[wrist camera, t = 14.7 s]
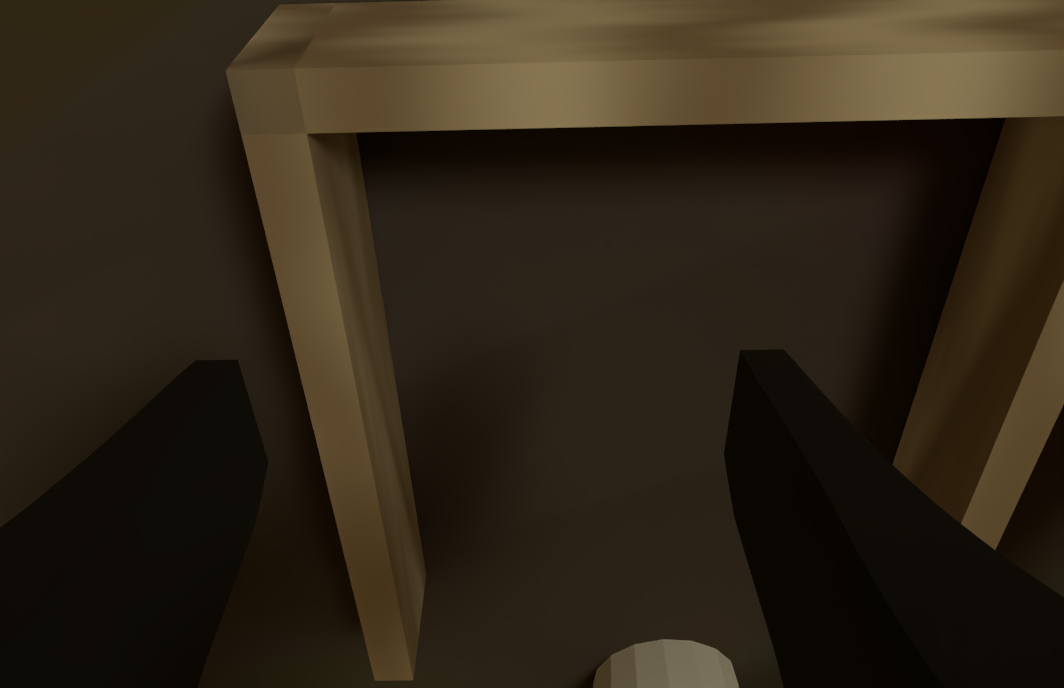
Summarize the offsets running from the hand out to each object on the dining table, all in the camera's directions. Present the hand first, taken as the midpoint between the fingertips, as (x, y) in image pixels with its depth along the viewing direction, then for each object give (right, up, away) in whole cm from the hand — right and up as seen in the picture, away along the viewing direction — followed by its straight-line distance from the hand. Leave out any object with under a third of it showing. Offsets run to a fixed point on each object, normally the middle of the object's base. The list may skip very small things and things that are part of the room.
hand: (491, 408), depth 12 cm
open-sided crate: (+4, +1, +11) cm, 12 cm away
